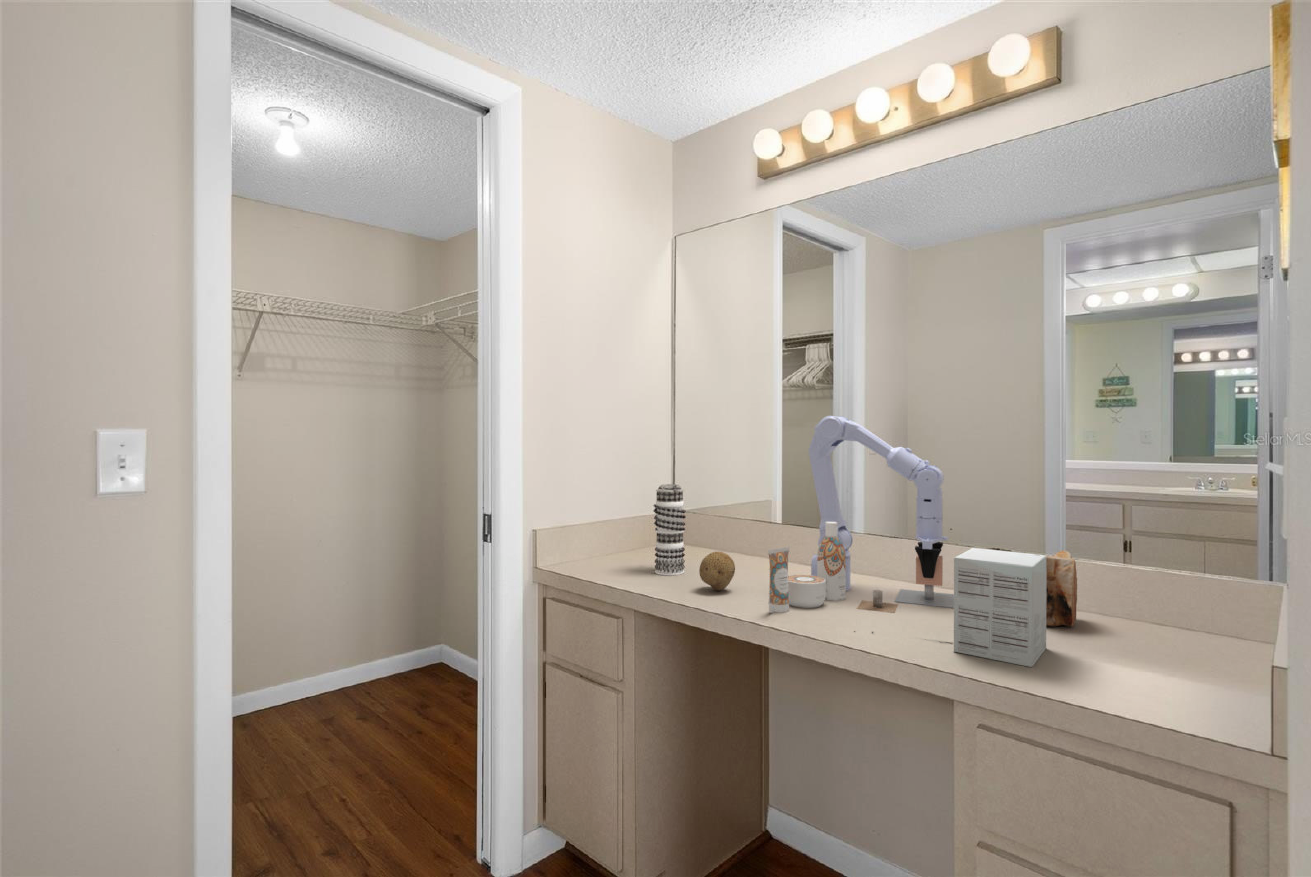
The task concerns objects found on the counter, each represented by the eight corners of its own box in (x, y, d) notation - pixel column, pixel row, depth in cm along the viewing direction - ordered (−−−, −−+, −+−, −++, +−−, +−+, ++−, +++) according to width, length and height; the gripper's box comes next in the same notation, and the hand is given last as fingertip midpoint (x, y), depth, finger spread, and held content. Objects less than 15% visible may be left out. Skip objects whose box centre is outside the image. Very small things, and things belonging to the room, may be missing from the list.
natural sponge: (722, 597, 162) (722, 556, 162) (692, 591, 167) (692, 552, 167) (741, 590, 169) (741, 550, 169) (711, 585, 174) (711, 547, 174)
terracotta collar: (915, 583, 155) (915, 558, 155) (917, 578, 160) (917, 554, 160) (942, 585, 153) (942, 559, 153) (942, 581, 158) (942, 555, 158)
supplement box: (971, 634, 132) (971, 546, 132) (1047, 648, 124) (1047, 554, 123) (951, 652, 122) (952, 556, 122) (1033, 668, 113) (1034, 566, 113)
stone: (1064, 635, 132) (1065, 559, 131) (1017, 624, 139) (1017, 552, 139) (1093, 622, 140) (1093, 551, 140) (1047, 613, 147) (1047, 545, 147)
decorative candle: (648, 570, 193) (648, 484, 192) (676, 567, 196) (676, 483, 196) (661, 577, 184) (661, 486, 184) (691, 573, 188) (691, 485, 188)
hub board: (894, 605, 154) (894, 581, 154) (900, 593, 166) (900, 571, 165) (961, 612, 148) (961, 588, 148) (962, 599, 159) (962, 576, 159)
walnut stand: (856, 612, 148) (856, 592, 148) (862, 603, 156) (862, 585, 156) (894, 616, 145) (894, 596, 145) (898, 607, 152) (898, 588, 152)
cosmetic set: (784, 621, 142) (784, 533, 142) (753, 611, 149) (753, 528, 149) (856, 602, 157) (856, 523, 157) (824, 595, 164) (824, 519, 164)
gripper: (946, 522, 148) (946, 583, 148) (949, 514, 161) (949, 570, 161) (912, 520, 151) (912, 580, 151) (917, 513, 164) (917, 568, 164)
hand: (929, 575), depth 157 cm, fingers closed on terracotta collar, 6 cm apart
